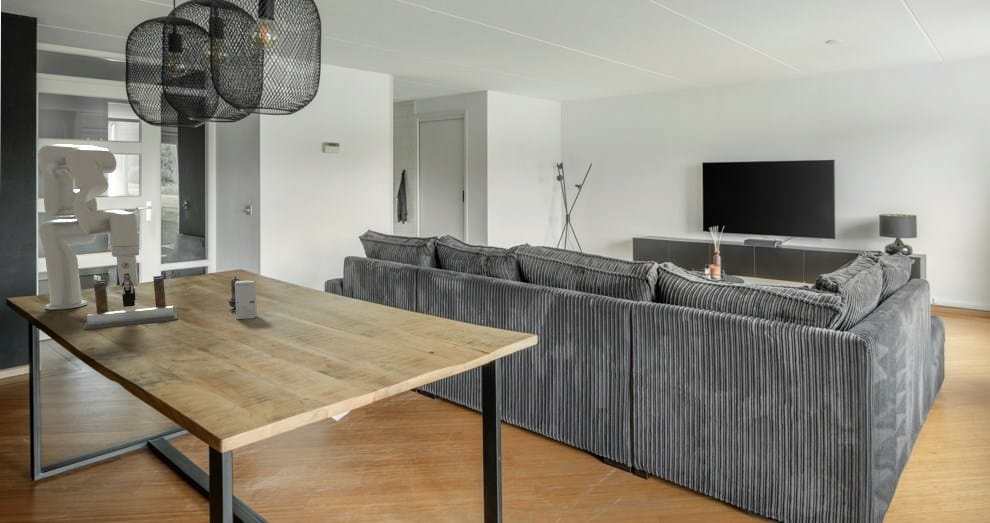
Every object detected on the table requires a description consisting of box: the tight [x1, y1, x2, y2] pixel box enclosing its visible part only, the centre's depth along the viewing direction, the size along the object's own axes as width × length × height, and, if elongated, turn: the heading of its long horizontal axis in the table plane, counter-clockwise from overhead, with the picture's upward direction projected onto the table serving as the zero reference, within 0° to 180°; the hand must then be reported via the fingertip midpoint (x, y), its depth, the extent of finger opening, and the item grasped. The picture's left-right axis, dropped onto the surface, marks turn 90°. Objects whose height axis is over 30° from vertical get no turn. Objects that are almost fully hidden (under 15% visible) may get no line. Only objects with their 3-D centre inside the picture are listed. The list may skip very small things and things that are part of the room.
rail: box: [86, 305, 175, 325], centre depth 202 cm, size 24×3×3 cm, turn 119°
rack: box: [93, 275, 167, 313], centre depth 210 cm, size 20×6×12 cm, turn 119°
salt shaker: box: [227, 275, 241, 313], centre depth 217 cm, size 6×6×12 cm
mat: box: [82, 312, 179, 331], centre depth 202 cm, size 26×10×1 cm, turn 119°
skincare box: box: [235, 280, 258, 320], centre depth 206 cm, size 6×4×12 cm
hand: (129, 303), depth 202 cm, fingers open, 9 cm apart
